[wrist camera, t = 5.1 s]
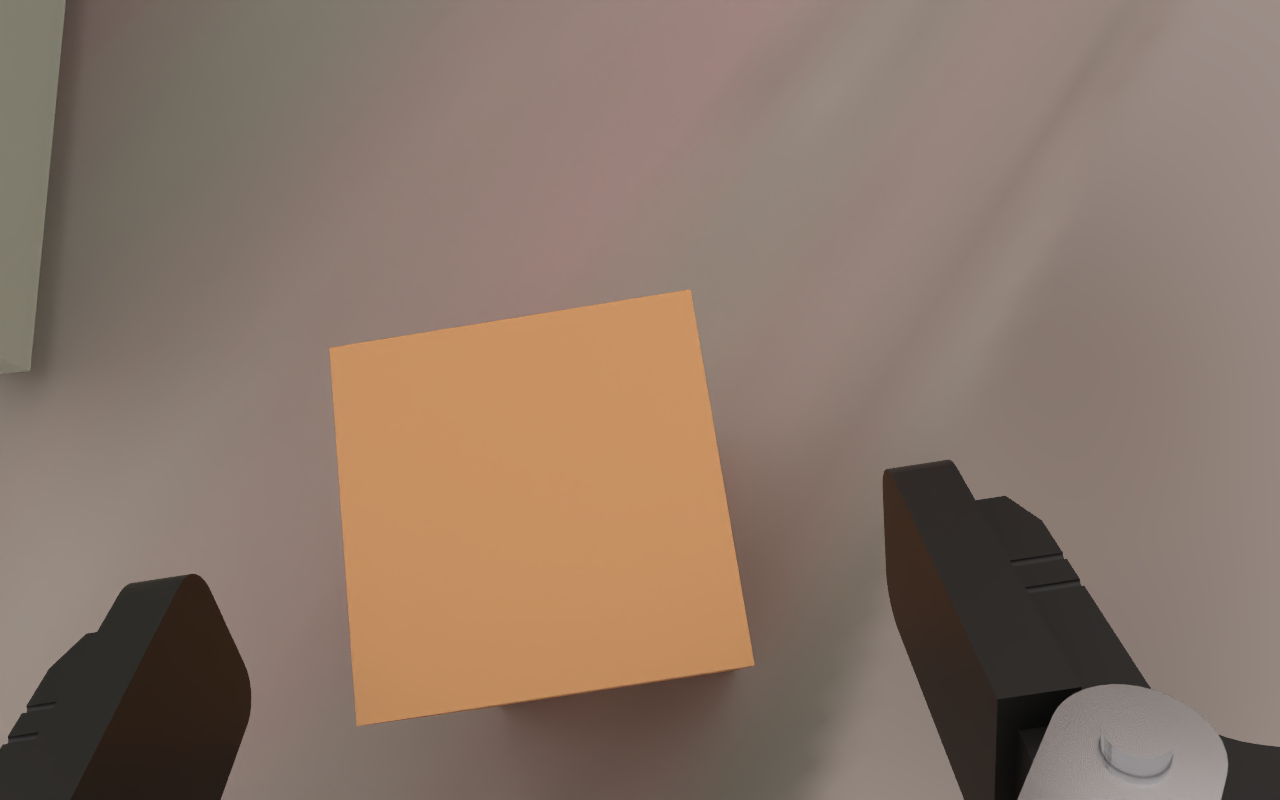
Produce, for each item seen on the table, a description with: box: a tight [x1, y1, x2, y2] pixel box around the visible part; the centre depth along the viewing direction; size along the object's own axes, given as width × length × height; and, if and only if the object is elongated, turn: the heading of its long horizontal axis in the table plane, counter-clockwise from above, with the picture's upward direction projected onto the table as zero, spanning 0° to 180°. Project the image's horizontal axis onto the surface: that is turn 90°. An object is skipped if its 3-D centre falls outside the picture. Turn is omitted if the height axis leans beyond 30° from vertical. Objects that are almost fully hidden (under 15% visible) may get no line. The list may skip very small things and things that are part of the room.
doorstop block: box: [329, 289, 755, 726], centre depth 16 cm, size 4×4×8 cm
